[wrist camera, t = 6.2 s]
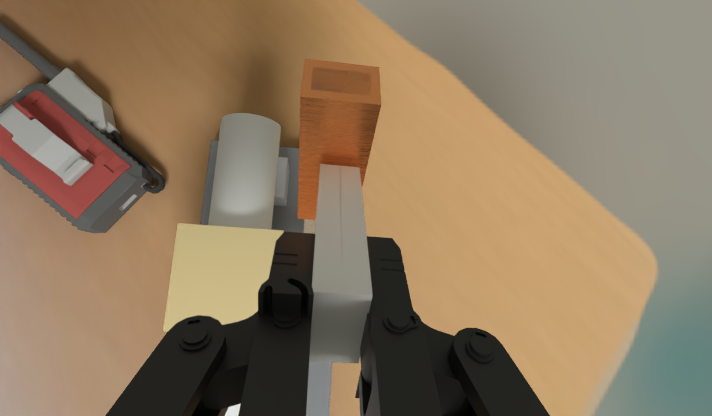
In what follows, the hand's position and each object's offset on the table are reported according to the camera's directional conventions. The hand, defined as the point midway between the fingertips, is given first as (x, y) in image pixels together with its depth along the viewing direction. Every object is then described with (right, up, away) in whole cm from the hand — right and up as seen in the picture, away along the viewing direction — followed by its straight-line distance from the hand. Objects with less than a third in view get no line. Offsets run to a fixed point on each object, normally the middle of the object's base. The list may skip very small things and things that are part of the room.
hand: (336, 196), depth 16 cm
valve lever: (-2, -6, +12) cm, 13 cm away
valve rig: (-6, -6, +17) cm, 19 cm away
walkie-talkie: (-24, +6, +18) cm, 30 cm away
